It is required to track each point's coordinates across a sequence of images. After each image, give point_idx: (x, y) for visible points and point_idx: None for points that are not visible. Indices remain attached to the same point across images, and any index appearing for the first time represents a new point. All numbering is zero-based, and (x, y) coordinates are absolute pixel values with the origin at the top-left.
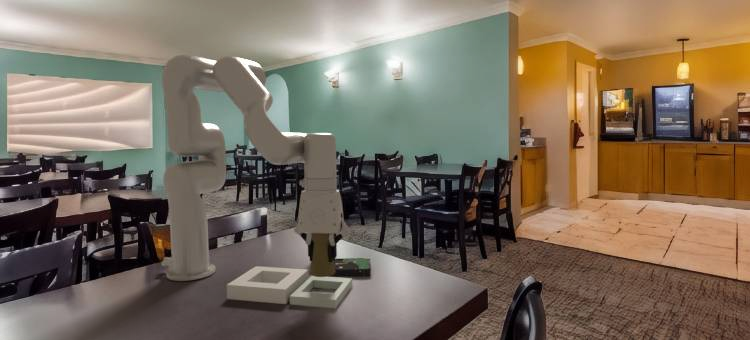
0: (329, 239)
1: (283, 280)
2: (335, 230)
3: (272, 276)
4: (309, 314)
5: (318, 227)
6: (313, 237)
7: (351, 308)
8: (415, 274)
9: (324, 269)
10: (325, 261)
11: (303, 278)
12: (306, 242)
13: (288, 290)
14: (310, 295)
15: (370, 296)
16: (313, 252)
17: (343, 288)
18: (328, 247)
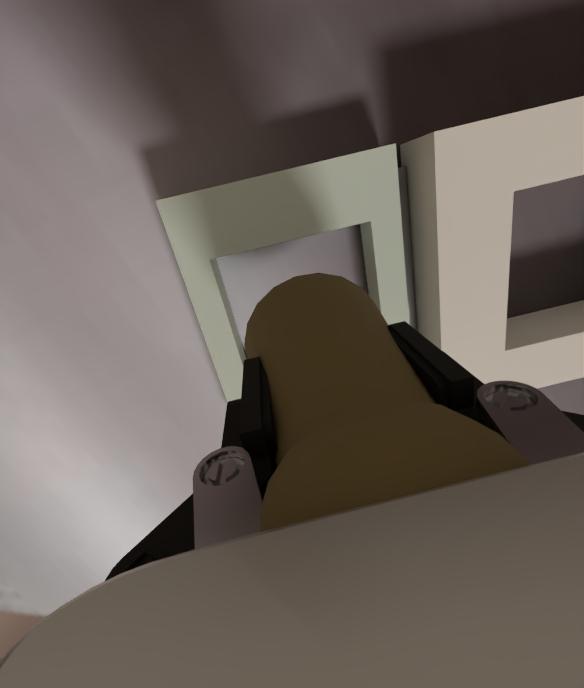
0: (257, 497)
1: (499, 246)
2: (7, 674)
3: (576, 319)
4: (236, 83)
5: (483, 633)
6: (472, 427)
7: (107, 233)
8: None
9: (274, 309)
10: (276, 339)
11: None
12: (529, 393)
13: (426, 175)
14: (302, 197)
15: (119, 371)
16: (398, 353)
17: (209, 339)
18: (265, 423)
